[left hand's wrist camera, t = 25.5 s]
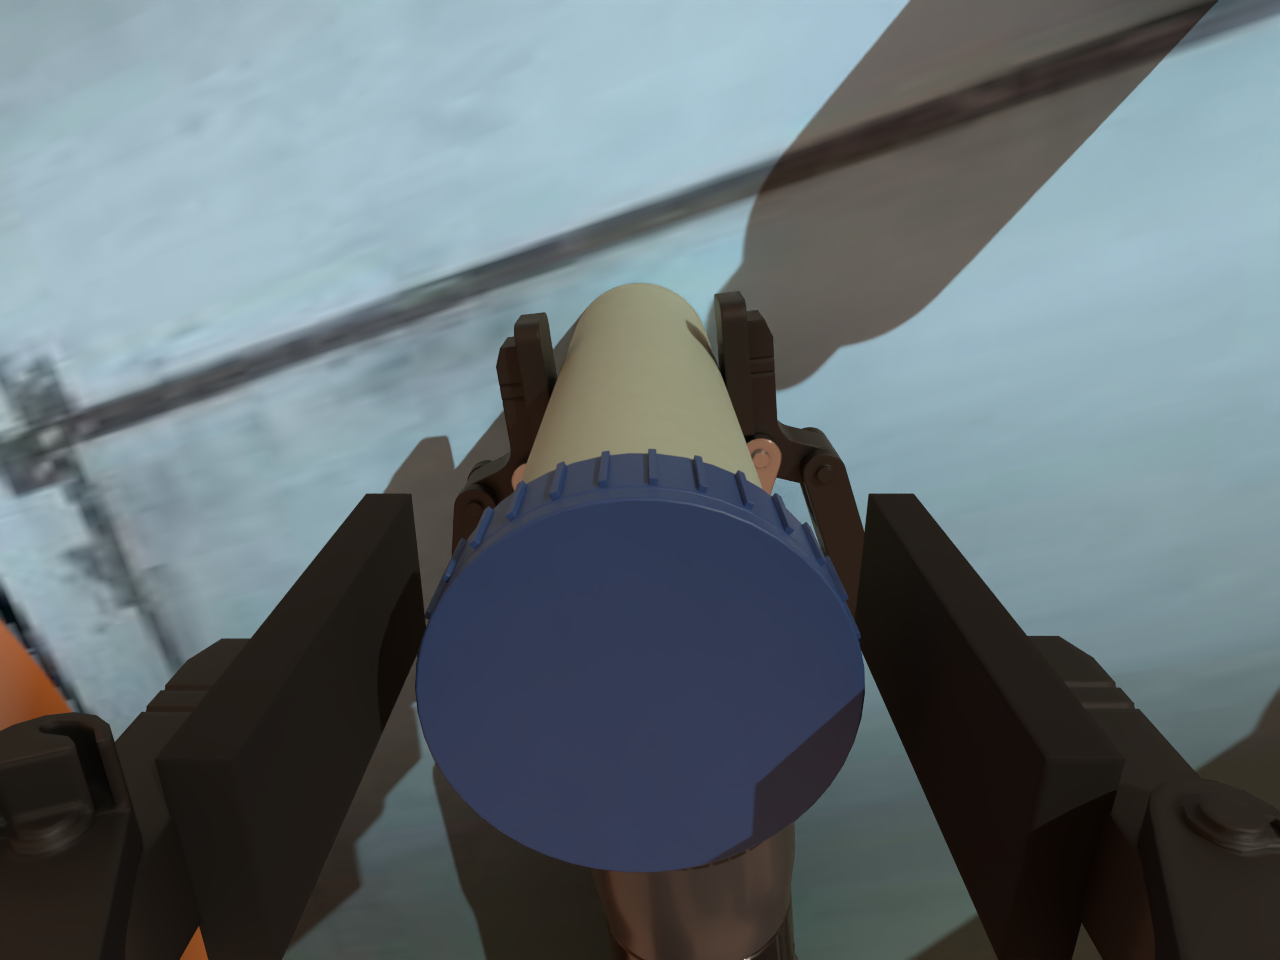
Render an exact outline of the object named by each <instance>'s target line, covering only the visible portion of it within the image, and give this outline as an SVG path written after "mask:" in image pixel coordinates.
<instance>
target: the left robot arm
mask: <svg viewBox="0 0 1280 960" xmlns="http://www.w3.org/2000/svg"><path fill="white" fill-rule="evenodd" d="M424 617H425V614H424V605H423V596H422V587H421V578H420V569H419V560H418V551H417V542H416V533H415V524H414V515H413V506H412V497H411V494H366V495H365V496H364V497H363V499H362V500H361V501H360V502H359V504H358V505H357V506H356V507H355V509H354V510H353V511H352V512H351V514H350V515H349V516H348V517H347V519H346V520H345V521H344V522H343V524H342V525H341V526H340V527H339V529H338V530H337V531H336V532H335V534H334V535H333V536H332V537H331V539H330V540H329V541H328V542H327V544H326V545H325V546H324V547H323V549H322V550H321V551H320V552H319V554H318V555H317V556H316V557H315V559H314V560H313V561H312V562H311V564H310V565H309V566H308V567H307V569H306V570H305V571H304V572H303V574H302V575H301V576H300V577H299V579H298V580H297V581H296V582H295V584H294V585H293V586H292V587H291V589H290V590H289V591H288V593H287V594H286V595H285V596H284V598H283V599H282V600H281V601H280V603H279V604H278V605H277V606H276V608H275V609H274V610H273V611H272V613H271V614H270V615H269V616H268V618H267V619H266V620H265V621H264V623H263V624H262V625H261V626H260V628H259V629H258V630H257V631H256V633H255V634H254V635H253V636H252V638H251V639H220V640H219V641H217V642H216V643H214V644H213V645H211V646H209V647H208V648H206V649H205V650H203V651H201V652H200V653H198V654H197V655H195V656H194V657H192V658H190V659H189V660H187V661H186V663H185V664H184V665H183V666H182V667H181V668H180V669H179V670H178V672H177V673H176V674H175V675H174V676H173V677H172V678H171V679H170V681H169V682H168V683H167V684H166V685H165V690H161V691H160V692H159V693H158V694H157V695H156V696H155V697H154V699H153V700H152V701H151V702H150V703H149V704H148V705H147V709H146V712H141V713H140V714H139V716H138V717H137V718H136V719H135V720H134V721H133V722H132V723H131V725H130V726H129V727H128V728H127V729H126V730H125V731H124V732H123V734H122V735H121V736H120V737H119V738H118V739H117V740H116V741H115V742H114V739H113V735H112V732H111V728H110V725H109V724H108V723H106V722H105V721H104V720H102V719H101V718H99V717H98V716H97V715H90V714H83V713H76V712H72V713H63V714H54V715H46V716H42V717H39V718H35V719H32V720H28V721H25V722H22V723H18V724H15V725H12V726H10V727H8V728H6V729H4V730H2V731H0V960H180V958H181V956H182V954H183V953H184V951H185V949H186V947H187V946H188V944H189V942H190V940H191V938H192V937H193V935H194V933H195V931H196V930H197V928H198V926H199V927H200V930H201V934H202V938H203V941H204V945H205V949H206V952H207V956H208V960H282V958H283V956H284V953H285V951H286V949H287V947H288V944H289V942H290V940H291V938H292V935H293V933H294V931H295V929H296V926H297V924H298V922H299V920H300V917H301V915H302V913H303V911H304V908H305V906H306V904H307V902H308V899H309V897H310V895H311V892H312V890H313V888H314V886H315V883H316V881H317V879H318V877H319V874H320V872H321V870H322V868H323V865H324V863H325V861H326V859H327V856H328V854H329V852H330V850H331V847H332V845H333V843H334V841H335V838H336V836H337V834H338V832H339V829H340V827H341V825H342V822H343V820H344V818H345V816H346V813H347V811H348V809H349V807H350V804H351V802H352V800H353V798H354V795H355V793H356V791H357V789H358V786H359V784H360V782H361V780H362V777H363V775H364V773H365V771H366V768H367V766H368V764H369V762H370V759H371V757H372V755H373V752H374V750H375V748H376V746H377V743H378V741H379V739H380V737H381V734H382V732H383V730H384V728H385V725H386V723H387V721H388V719H389V716H390V714H391V712H392V710H393V707H394V705H395V703H396V701H397V698H398V696H399V694H400V692H401V689H402V687H403V685H404V682H405V680H406V678H407V676H408V673H409V671H410V669H411V667H412V664H413V662H414V660H415V658H416V655H417V653H418V649H419V647H420V645H421V640H422V637H423V634H424V632H425V629H426V623H425V618H424ZM855 623H856V625H857V627H858V629H859V632H860V636H861V638H860V639H858V640H859V643H860V648H861V651H862V653H863V655H864V658H865V660H866V662H867V664H868V667H869V669H870V671H871V673H872V676H873V678H874V680H875V683H876V685H877V687H878V689H879V692H880V694H881V696H882V698H883V701H884V703H885V705H886V707H887V710H888V712H889V714H890V716H891V719H892V721H893V723H894V725H895V728H896V730H897V732H898V734H899V737H900V739H901V741H902V743H903V746H904V748H905V750H906V752H907V755H908V757H909V759H910V762H911V764H912V766H913V768H914V771H915V773H916V775H917V777H918V780H919V782H920V784H921V786H922V789H923V791H924V793H925V795H926V798H927V800H928V802H929V804H930V807H931V809H932V811H933V813H934V816H935V818H936V820H937V822H938V825H939V827H940V829H941V832H942V834H943V836H944V838H945V841H946V843H947V845H948V847H949V850H950V852H951V854H952V856H953V859H954V861H955V863H956V865H957V868H958V870H959V872H960V874H961V877H962V879H963V881H964V883H965V886H966V888H967V890H968V892H969V895H970V897H971V899H972V902H973V904H974V906H975V908H976V911H977V913H978V915H979V917H980V920H981V922H982V924H983V926H984V929H985V931H986V933H987V935H988V938H989V940H990V942H991V944H992V947H993V949H994V951H995V953H996V956H997V958H998V960H1072V956H1073V952H1074V949H1075V945H1076V941H1077V938H1078V934H1079V930H1080V927H1081V923H1082V924H1083V926H1084V927H1085V929H1086V931H1087V932H1088V934H1089V936H1090V938H1091V939H1092V941H1093V943H1094V945H1095V946H1096V948H1097V950H1098V952H1099V953H1100V955H1101V957H1102V959H1103V960H1280V812H1279V811H1278V810H1277V809H1276V808H1274V807H1273V806H1271V805H1270V804H1268V803H1266V802H1264V801H1262V800H1260V799H1258V798H1257V797H1255V796H1253V795H1251V794H1249V793H1247V792H1245V791H1243V790H1240V789H1237V788H1234V787H1231V786H1228V785H1225V784H1222V783H1219V782H1216V781H1213V780H1205V779H1201V778H1200V777H1199V776H1198V774H1197V773H1196V772H1195V771H1194V770H1193V769H1192V768H1191V767H1190V765H1189V764H1188V763H1187V762H1186V761H1185V760H1184V759H1183V758H1182V756H1181V755H1180V754H1179V753H1178V752H1177V751H1176V750H1175V749H1174V748H1173V746H1172V745H1171V744H1170V743H1169V742H1168V741H1167V740H1166V739H1165V737H1164V736H1163V735H1162V734H1161V733H1160V732H1159V731H1158V730H1157V729H1156V727H1155V726H1154V725H1153V724H1152V723H1151V722H1150V721H1149V720H1148V718H1147V717H1146V716H1145V715H1144V714H1143V713H1142V712H1141V711H1140V710H1139V709H1135V708H1134V703H1133V702H1132V701H1131V699H1130V698H1129V697H1128V696H1127V695H1126V694H1125V693H1124V692H1123V690H1122V689H1121V688H1116V685H1115V682H1114V680H1113V679H1112V678H1111V677H1110V676H1109V675H1108V674H1107V673H1106V671H1105V670H1104V669H1103V668H1102V667H1101V666H1100V665H1099V664H1098V663H1097V661H1096V660H1095V659H1094V658H1093V657H1091V656H1090V655H1088V654H1087V653H1085V652H1083V651H1082V650H1080V649H1079V648H1077V647H1075V646H1074V645H1072V644H1071V643H1069V642H1067V641H1066V640H1064V639H1063V638H1061V637H1059V636H1027V635H1026V634H1025V633H1024V631H1023V630H1022V629H1021V628H1020V626H1019V625H1018V624H1017V623H1016V621H1015V620H1014V619H1013V618H1012V616H1011V615H1010V614H1009V613H1008V611H1007V610H1006V609H1005V608H1004V606H1003V605H1002V604H1001V603H1000V601H999V600H998V599H997V598H996V596H995V595H994V594H993V593H992V591H991V590H990V589H989V587H988V586H987V585H986V584H985V582H984V581H983V580H982V579H981V577H980V576H979V575H978V574H977V572H976V571H975V570H974V569H973V567H972V566H971V565H970V564H969V562H968V561H967V560H966V559H965V557H964V556H963V555H962V554H961V552H960V551H959V550H958V549H957V547H956V546H955V545H954V544H953V542H952V541H951V540H950V539H949V537H948V536H947V535H946V534H945V532H944V531H943V530H942V529H941V527H940V526H939V525H938V524H937V522H936V521H935V520H934V519H933V517H932V516H931V515H930V514H929V512H928V511H927V510H926V509H925V507H924V506H923V505H922V504H921V502H920V501H919V500H918V499H917V497H916V496H915V495H914V494H869V497H868V506H867V515H866V524H865V533H864V542H863V551H862V560H861V569H860V578H859V587H858V596H857V605H856V614H855Z"/></svg>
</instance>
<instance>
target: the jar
mask: <svg viewBox="0 0 1280 960" xmlns="http://www.w3.org/2000/svg"><path fill="white" fill-rule="evenodd" d="M648 449H656V454H665V455H672V456H679V457H686V458H690V459H693V458H694V456H695V455H697V456H701V457H702V459H703V462H705V463H708V464H712V465H715V466H717V467H720V468H722V469H724V470H727V471H729V472H732V473H734V474H736V472H737V471H738V470H739V471H741V472H743V473H745V476H746V479H747V480H748V481H749V482H751V483H753V484H755V485H756V486H758V487H760V488H761V489H763V488H762V485H761V482H760V480H759V477H758V474H757V471H756V469H755V466H754V463H753V460H752V458H751V455H750V452H749V449H748V447H747V444H746V441H745V438H744V436H743V433H742V430H741V427H740V425H739V422H738V419H737V416H736V414H735V411H734V408H733V405H732V403H731V400H730V397H729V394H728V392H727V389H726V386H725V383H724V381H723V378H722V375H721V372H720V370H719V367H718V364H717V361H716V359H715V356H714V353H713V350H712V348H711V345H710V342H709V339H708V337H707V334H706V331H705V329H704V326H703V324H702V321H701V319H700V318H699V316H698V314H697V313H696V311H695V310H694V309H693V307H692V306H691V305H690V304H689V303H688V302H687V301H686V300H685V299H684V298H682V297H681V296H680V295H678V294H677V293H675V292H673V291H671V290H669V289H667V288H665V287H662V286H658V285H655V284H648V283H632V284H625V285H622V286H618V287H615V288H613V289H611V290H609V291H607V292H605V293H604V294H602V295H600V296H599V297H598V298H597V299H595V300H594V301H593V302H592V303H591V304H590V305H589V306H588V307H587V309H586V310H585V311H584V313H583V314H582V316H581V318H580V320H579V321H578V324H577V326H576V329H575V332H574V334H573V337H572V340H571V343H570V345H569V348H568V351H567V354H566V356H565V359H564V362H563V365H562V367H561V370H560V373H559V376H558V378H557V381H556V384H555V387H554V390H553V392H552V395H551V398H550V401H549V403H548V406H547V409H546V412H545V414H544V417H543V420H542V423H541V425H540V428H539V431H538V434H537V436H536V439H535V442H534V445H533V447H532V450H531V453H530V456H529V458H528V461H527V464H526V467H525V469H524V472H523V475H522V478H521V480H520V482H521V481H522V480H524V482H525V483H526V484H527V483H529V482H531V481H533V480H535V479H536V478H538V477H540V476H542V475H544V474H546V473H548V472H550V471H553V470H556V466H557V464H558V463H560V462H563V461H564V462H565V464H566V465H569V464H572V463H575V462H579V461H583V460H587V459H591V458H596V457H600V456H601V453H602V452H603V451H610V455H617V454H626V453H648Z"/></svg>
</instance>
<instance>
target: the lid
mask: <svg viewBox="0 0 1280 960" xmlns="http://www.w3.org/2000/svg"><path fill="white" fill-rule="evenodd" d="M848 599H849V598H848V596H847V594H846V592H845V590H844V587H843V585H842V583H841V581H840V579H839V577H838V575H837V572H836V570H835V568H834V566H833V564H832V562H831V560H830V557H829V556H826V557H824V556H823V553H822V551H821V549H820V547H819V545H818V542H817V540H816V538H815V536H814V534H813V531H812V529H811V527H810V526H809V524H808V523H807V522H806V523H804V524H803V525H802V524H801V523H800V522H799V521H798V520H797V519H796V518H795V517H794V516H793V515H792V514H791V513H790V512H789V511H788V510H787V509H786V508H785V505H784V503H783V500H782V498H781V496H779V495H778V494H777V493H775V494H774V495H773V496H771V495H769V494H768V493H767V492H765V491H764V490H763V489H761V488H760V487H758V486H756V485H755V484H753V483H751V482H749V481H748V480H747V479H746V476H745V473H743V472H741V471H739V470H738V471H737V472H736V474H734V473H732V472H729V471H727V470H724V469H722V468H720V467H717V466H715V465H712V464H708V463H705V462H703V459H702V457H701V456H697V455H695V456H694V458H693V459H690V458H686V457H679V456H672V455H665V454H656V449H648V453H626V454H617V455H610V451H603V452H602V453H601V456H600V457H596V458H591V459H587V460H583V461H579V462H575V463H572V464H569V465H566V464H565V462H564V461H563V462H560V463H558V464H557V466H556V470H553V471H550V472H548V473H546V474H544V475H542V476H540V477H538V478H536V479H535V480H533V481H531V482H529V483H527V484H526V483H525V482H524V480H522V481H521V482H519V483H518V484H517V486H516V488H515V491H514V493H512V494H511V495H509V496H508V497H507V498H505V499H504V500H502V501H501V502H500V503H499V504H498V505H497V506H496V507H495V508H494V509H491V508H490V507H489V506H488V507H487V508H486V509H485V510H484V512H483V514H482V516H481V518H480V521H479V523H478V525H477V528H476V529H475V530H474V531H473V533H472V534H471V535H470V536H469V538H468V539H467V540H465V539H464V538H461V540H460V541H459V543H458V545H457V547H456V549H455V552H454V554H453V556H452V558H451V560H450V562H449V565H448V567H447V569H446V571H445V573H444V574H443V577H442V579H441V581H440V583H439V585H438V587H437V589H436V592H435V594H434V596H433V598H432V600H431V602H430V605H429V607H428V609H427V611H426V614H425V617H424V618H426V619H429V621H428V624H427V627H426V629H425V632H424V634H423V637H422V640H421V645H420V647H419V649H418V653H417V657H418V659H417V664H416V682H415V691H416V700H417V710H418V715H419V719H420V723H421V727H422V731H423V734H424V738H425V740H426V742H427V745H428V747H429V749H430V752H431V754H432V756H433V759H434V761H435V762H436V764H437V766H438V767H439V769H440V771H441V772H442V774H443V775H444V777H445V779H446V780H447V782H448V783H449V784H450V785H451V787H452V788H453V789H454V790H455V792H456V793H457V794H458V795H459V796H460V798H461V799H462V800H463V801H464V802H465V803H466V804H467V805H468V806H469V807H470V808H471V809H472V810H473V811H474V812H476V813H477V814H478V815H479V816H480V817H481V818H482V819H484V820H485V821H486V822H488V823H489V824H490V825H492V826H493V827H494V828H496V829H497V830H498V831H500V832H501V833H503V834H505V835H506V836H508V837H510V838H511V839H513V840H515V841H517V842H518V843H520V844H522V845H524V846H526V847H528V848H530V849H533V850H535V851H537V852H539V853H542V854H544V855H546V856H549V857H552V858H555V859H558V860H561V861H565V862H568V863H571V864H575V865H580V866H584V867H589V868H594V869H599V870H608V871H618V872H662V871H673V870H680V869H686V868H691V867H696V866H701V865H705V864H709V863H712V862H715V861H719V860H722V859H725V858H729V857H731V856H733V855H736V854H738V853H741V852H743V851H745V850H748V849H750V848H753V847H754V846H756V845H758V844H760V843H762V842H763V841H765V840H767V839H769V838H771V837H773V836H774V835H776V834H777V833H779V832H780V831H782V830H783V829H784V828H786V827H787V826H789V825H790V824H791V823H793V822H794V821H796V820H797V819H798V818H799V817H800V816H801V815H802V814H803V813H804V812H806V811H807V810H808V809H809V808H810V807H811V806H812V805H813V804H814V803H815V802H816V801H817V800H818V799H819V798H820V796H821V795H822V794H823V793H824V792H825V791H826V789H827V788H828V787H829V786H830V785H831V783H832V782H833V780H834V779H835V777H836V776H837V774H838V772H839V771H840V769H841V768H842V766H843V765H844V763H845V761H846V758H847V756H848V754H849V752H850V750H851V748H852V746H853V744H854V741H855V737H856V734H857V731H858V727H859V724H860V721H861V717H862V710H863V702H864V695H865V680H864V664H863V659H862V653H861V648H860V643H859V640H858V639H860V638H861V636H860V632H859V629H858V627H857V625H856V623H855V621H854V618H853V616H852V614H851V612H850V610H849V607H848V605H847V603H846V600H848Z"/></svg>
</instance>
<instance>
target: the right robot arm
mask: <svg viewBox="0 0 1280 960" xmlns="http://www.w3.org/2000/svg"><path fill="white" fill-rule="evenodd" d="M714 303H715V317H716V330H717V343H718V356H719V369H720V372H721V375H722V378H723V381H724V383H725V386H726V389H727V392H728V394H729V397H730V400H731V403H732V405H733V408H734V411H735V414H736V416H737V419H738V422H739V425H740V427H741V430H742V433H743V436H744V438H745V441H746V444H747V447H748V449H749V452H750V455H751V458H752V460H753V463H754V466H755V469H756V471H757V474H758V477H759V480H760V482H761V485H762V488H763V490H764V491H765V492H767V493H768V494H769V495H770V494H771V491H772V488H773V485H774V482H775V479H776V478H781V479H785V480H789V481H794V482H798V483H800V485H801V489H802V492H803V495H804V498H805V501H806V504H807V507H808V511H809V514H810V517H811V520H812V523H813V526H814V530H815V533H816V536H817V539H818V542H819V545H820V548H821V551H822V553H823V556H824V557H826V556H829V557H830V560H831V562H832V564H833V566H834V568H835V570H836V572H837V575H838V577H839V579H840V581H841V583H842V585H843V587H844V590H845V592H846V594H847V596H848V598H849V599H848V600H846V603H847V605H848V607H849V610H850V612H851V614H852V616H853V618H854V621H855V614H856V605H857V596H858V587H859V578H860V569H861V560H862V551H863V542H864V530H863V526H862V523H861V519H860V516H859V513H858V509H857V506H856V502H855V499H854V496H853V492H852V489H851V485H850V482H849V478H848V475H847V472H846V468H845V465H844V463H843V462H842V460H841V459H840V457H839V455H838V454H837V452H836V451H835V449H834V448H833V446H832V445H831V443H830V442H829V440H828V439H827V437H826V436H825V434H824V433H823V432H822V431H821V430H819V429H817V428H813V427H807V428H803V429H799V428H795V427H790V426H787V425H784V424H782V423H780V422H779V421H778V420H777V408H776V389H775V373H774V371H775V369H774V350H773V336H772V334H771V332H770V330H769V328H768V326H767V324H766V322H765V320H764V318H763V317H762V315H761V314H760V313H759V311H758V310H755V311H747V310H746V304H745V299H744V298H743V296H742V295H741V293H740V292H739V291H737V292H728V293H719V294H715V295H714ZM496 369H497V374H498V380H499V385H500V391H501V396H502V400H503V407H504V413H505V419H506V424H507V430H508V435H509V441H510V446H511V451H510V452H509V453H508V454H506V455H504V456H502V457H500V458H498V459H496V460H494V461H491V460H486V461H481V462H479V463H477V464H476V465H475V466H474V467H473V469H472V470H471V472H470V474H469V476H468V480H467V483H466V485H465V487H464V488H463V489H462V490H461V491H460V493H459V495H458V497H457V499H456V501H455V504H454V521H453V541H452V556H453V554H454V552H455V549H456V547H457V545H458V543H459V541H460V540H461V538H464V539H465V540H467V539H468V538H469V536H470V535H471V534H472V533H473V531H474V530H475V529H476V528H477V525H478V523H479V521H480V518H481V516H482V514H483V512H484V510H485V509H486V508H487V507H488V506H489V507H490V508H491V509H494V508H495V507H496V506H497V505H498V504H499V503H500V502H501V501H502V500H504V499H505V498H507V497H508V496H509V495H511V494H512V493H514V491H515V488H516V486H517V484H518V483H519V482H520V480H521V478H522V475H523V472H524V469H525V467H526V464H527V461H528V458H529V456H530V453H531V450H532V447H533V445H534V442H535V439H536V436H537V434H538V431H539V428H540V425H541V423H542V420H543V417H544V414H545V412H546V409H547V406H548V403H549V401H550V398H551V395H552V392H553V390H554V387H555V384H556V381H557V375H556V368H555V362H554V355H553V349H552V343H551V336H550V330H549V323H548V319H547V315H546V313H545V312H544V313H535V314H527V315H521V316H520V317H519V319H518V320H517V322H516V323H515V325H514V337H508V338H507V339H506V341H505V342H504V343H503V345H502V346H501V348H500V351H499V356H498V360H497V365H496ZM794 854H795V827H794V822H793V823H791V824H790V825H789V826H787V827H786V828H784V829H783V830H782V831H780V832H779V833H777V834H776V835H774V836H773V837H771V838H769V839H767V840H765V841H763V842H762V843H760V844H758V845H756V846H754V847H753V848H750V849H748V850H745V851H743V852H741V853H738V854H736V855H733V856H731V857H729V858H725V859H722V860H719V861H715V862H712V863H709V864H705V865H701V866H696V867H691V868H686V869H680V870H673V871H662V872H618V871H608V870H599V869H594V868H590V871H591V874H592V878H593V881H594V884H595V887H596V889H597V892H598V894H599V897H600V899H601V902H602V906H603V910H604V915H605V921H606V927H607V933H608V938H609V944H610V950H611V956H612V960H798V958H797V956H796V954H795V948H794V931H793V914H792V898H791V878H792V871H793V864H794Z"/></svg>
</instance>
